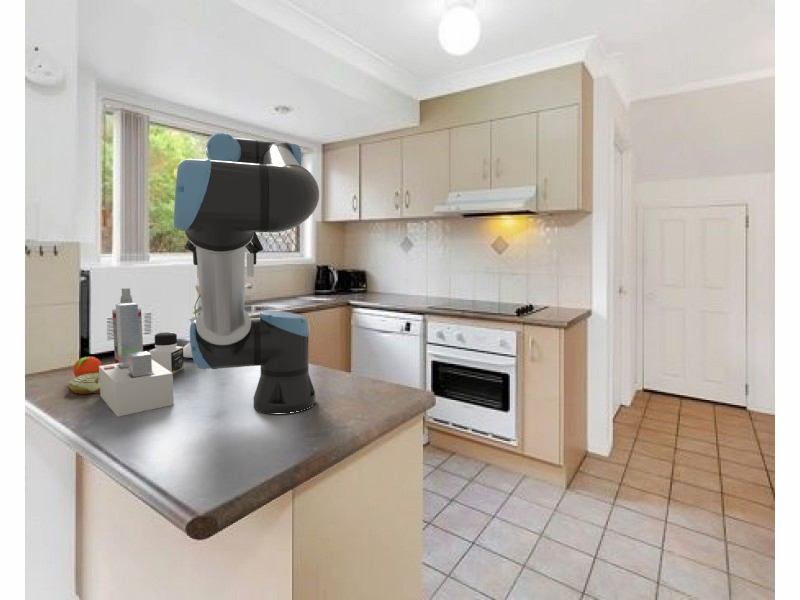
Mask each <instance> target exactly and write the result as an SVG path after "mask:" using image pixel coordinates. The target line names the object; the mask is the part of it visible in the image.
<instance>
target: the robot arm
mask: <svg viewBox="0 0 800 600" xmlns="http://www.w3.org/2000/svg"><path fill="white" fill-rule="evenodd" d="M301 150H302V148H301V147H300V146H299V144H295V143H289V142H277V141H266V140H259V139H248V138H239V137H234V136H232V135H230V134H229V133H225V132H218V133H215V134H213V135H211V136H209V137H208V141H207V142H206V146H205V152H206V154H205V155H206V157H207V158H204V159H199V158H196V159H195V158H185V159H182V160H181V161H180V162H179V164H178V166H177V170H176V179H175V181H176V182H175V195H174V209H173V210H174V211H173V227H174V229H176V230H180V231H183V232H184V233H185V236H186V239H187V241H186V244H185V246H184V249H185V251H186V250H187V251H190V252H192V259H193V260H192V261H193V262H192V263H193V265H194V266H196V271H197V272H196V276H197V278H198V281H199V282H198V283H199V286H200V294H201V298H200V303H201V311H202V312H200V314H199V315H198V316H197V317H198V319H197V320H194V321H193V322H192V323H191V322H190V326H189V342H190V345H191V352H192V356H193V358H192V359H193V362H194V364H195V365H196V367H198V369H202V370H209V369H210V370H219V369H230V368H243V367H244V368H245V367H255V366H256V367H257V366H260V377H259V379H258V383H257V385H256V389H255V391H254V396H253V408H254V410H256V411H257V410H258V411H257V412H259V411H261V412H260V413H262V412H264V413H263V414H267V413H290V412H296V411H301V410H304V409H307V408H309V407H311V406H312V405H314V403H315V404H316V402H315V401H317V400H316V398H317V397H316V391H315V388H314V386H313V382H312V380H311V376H310V372H309V370H310V369H309V364H310V363H309V338H310V332H309V322H308V319H307V318H306V317H305V316H303V315H301V314H297V313H294V312H293V313H292V312H288V311H281V310H263V311H260V313H259V314H258V317H251V316H250V315H249V313H248V312H247V311H246V310H245V285H246V284H245V282H246V281H245V278H246V277H249V278H251V277H252V278H253V277H254V276H255V271H254V270H255V269H254V268H255V265H257V254H258V253H259V252H261V251H263V250H264V247H263V245H262V243H261V240H260V239H259V237H258V235H257V233H281V232H285V231H289V230H291V229H293V228H295V227H298V226H299V225H301V224H302V223H305V221H307V220H308V219H309V218H310V216H311V215H312V214H313V213H314V212H315V211H316V208H317V206H318V204H319V200H320V189H319V185H318V182H317V181H316V179H315V177H314V176H313V174H312V172H310V171H309V170H308V169H307V168H306V167H303V166H302V151H301ZM246 250H247V251H248V252H246ZM245 262H246V263H245ZM245 265H246V266H245ZM245 268H246V269H245ZM245 271H246V272H245ZM245 273H246V274H245ZM245 275H246V277H245ZM314 406H315V405H314ZM311 408H312V407H311ZM307 410H308V409H307Z"/></svg>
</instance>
